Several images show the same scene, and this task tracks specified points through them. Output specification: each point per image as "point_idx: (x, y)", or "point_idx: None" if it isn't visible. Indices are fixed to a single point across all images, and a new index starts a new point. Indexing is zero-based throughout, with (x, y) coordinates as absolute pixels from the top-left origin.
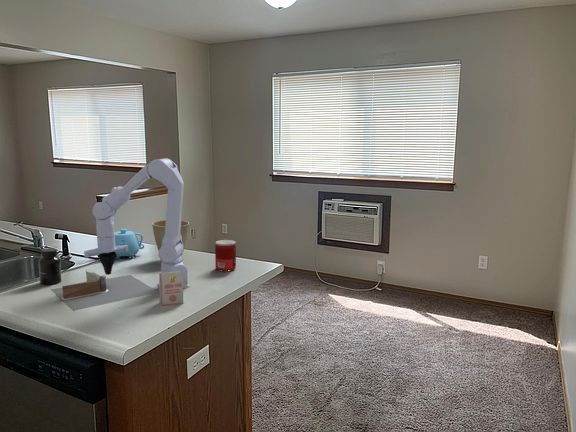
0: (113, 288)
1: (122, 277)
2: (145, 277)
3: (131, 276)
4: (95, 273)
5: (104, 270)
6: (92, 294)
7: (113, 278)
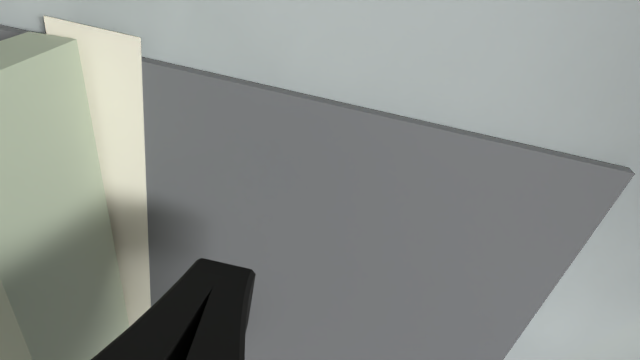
0: None
1: (478, 194)
2: (636, 330)
3: (571, 239)
4: (12, 313)
5: (171, 291)
6: None
7: (380, 143)
